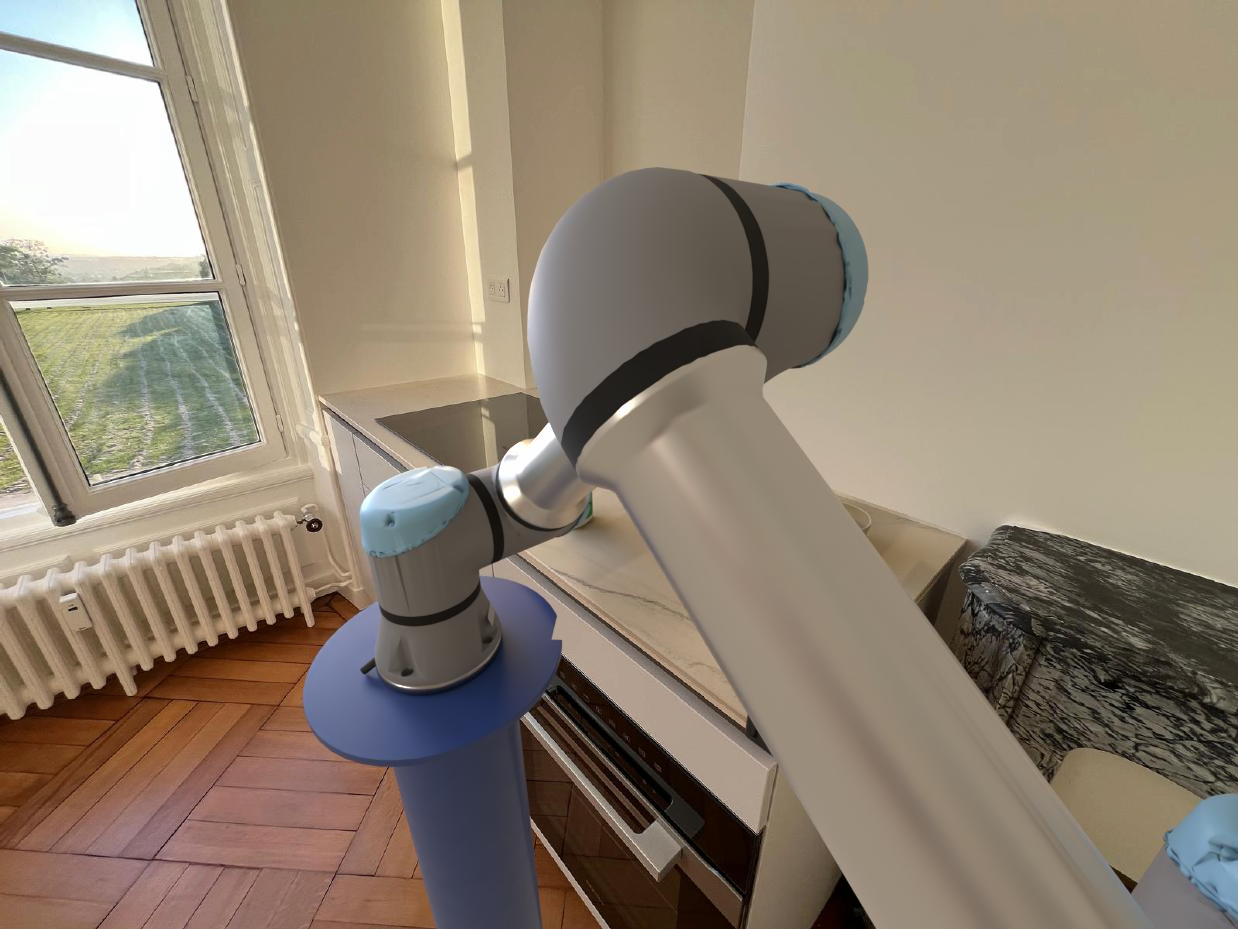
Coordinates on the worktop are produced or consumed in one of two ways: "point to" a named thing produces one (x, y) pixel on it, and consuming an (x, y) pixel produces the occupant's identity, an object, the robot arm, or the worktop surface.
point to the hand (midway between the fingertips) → (791, 637)
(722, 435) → the robot arm
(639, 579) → the worktop surface
